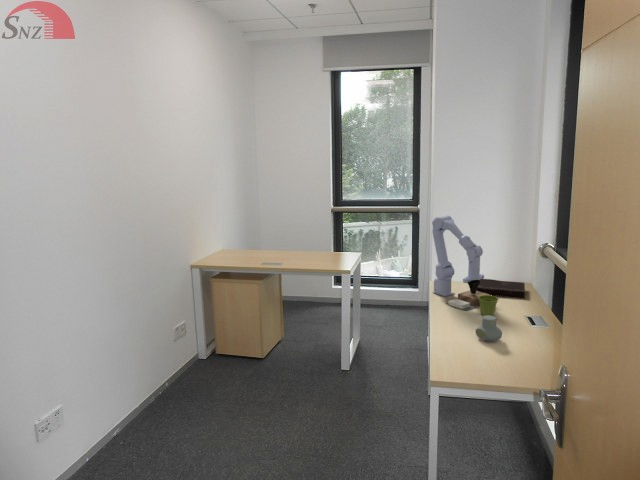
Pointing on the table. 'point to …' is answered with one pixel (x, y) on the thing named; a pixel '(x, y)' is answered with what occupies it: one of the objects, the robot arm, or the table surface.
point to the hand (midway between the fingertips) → (473, 293)
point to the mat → (467, 307)
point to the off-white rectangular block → (459, 303)
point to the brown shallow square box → (471, 297)
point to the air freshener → (489, 329)
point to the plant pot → (487, 304)
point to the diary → (502, 288)
